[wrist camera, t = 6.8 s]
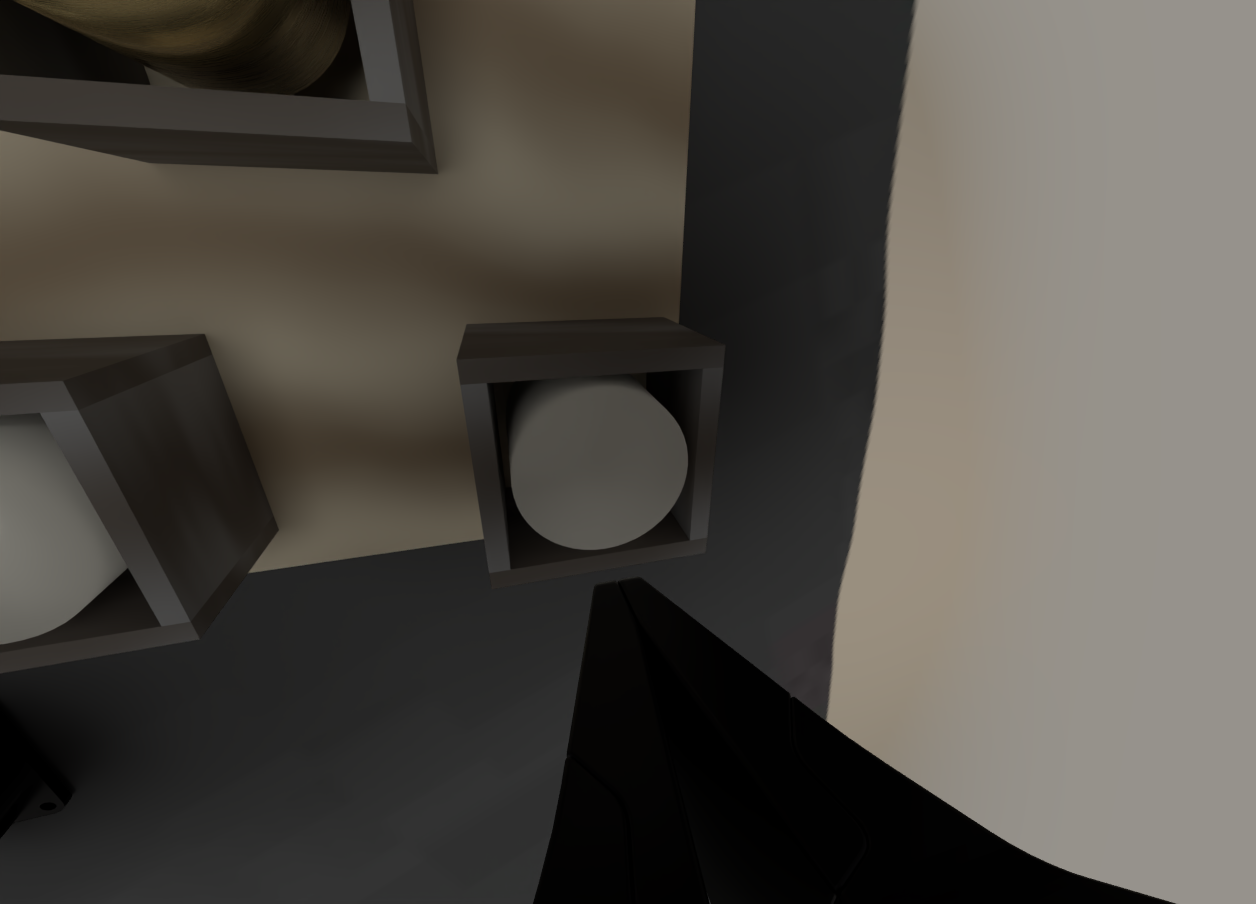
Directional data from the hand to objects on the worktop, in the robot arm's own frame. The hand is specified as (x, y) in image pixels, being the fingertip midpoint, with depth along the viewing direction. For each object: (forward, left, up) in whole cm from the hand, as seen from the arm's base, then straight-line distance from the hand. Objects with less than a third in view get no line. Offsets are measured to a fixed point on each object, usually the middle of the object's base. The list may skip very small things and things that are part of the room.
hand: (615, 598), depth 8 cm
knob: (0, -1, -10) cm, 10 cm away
